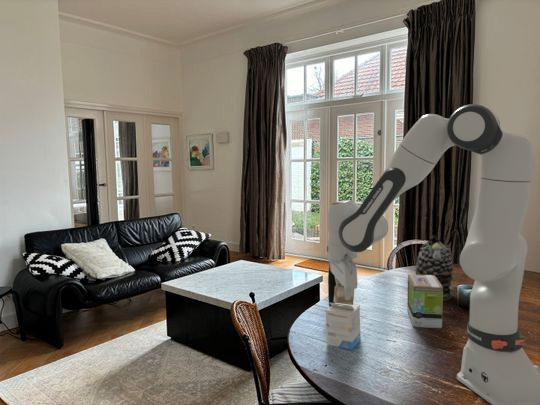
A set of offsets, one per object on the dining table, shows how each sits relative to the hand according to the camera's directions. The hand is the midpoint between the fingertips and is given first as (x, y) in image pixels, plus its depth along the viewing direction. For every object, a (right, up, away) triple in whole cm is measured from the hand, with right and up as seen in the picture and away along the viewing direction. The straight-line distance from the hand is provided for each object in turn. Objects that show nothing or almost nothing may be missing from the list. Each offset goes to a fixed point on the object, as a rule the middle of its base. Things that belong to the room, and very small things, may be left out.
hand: (343, 293), depth 129 cm
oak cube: (0, -3, 0) cm, 3 cm away
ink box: (+1, -16, +2) cm, 16 cm away
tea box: (+32, -13, +17) cm, 39 cm away
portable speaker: (+3, -13, +26) cm, 29 cm away
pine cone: (+46, -10, +42) cm, 64 cm away
